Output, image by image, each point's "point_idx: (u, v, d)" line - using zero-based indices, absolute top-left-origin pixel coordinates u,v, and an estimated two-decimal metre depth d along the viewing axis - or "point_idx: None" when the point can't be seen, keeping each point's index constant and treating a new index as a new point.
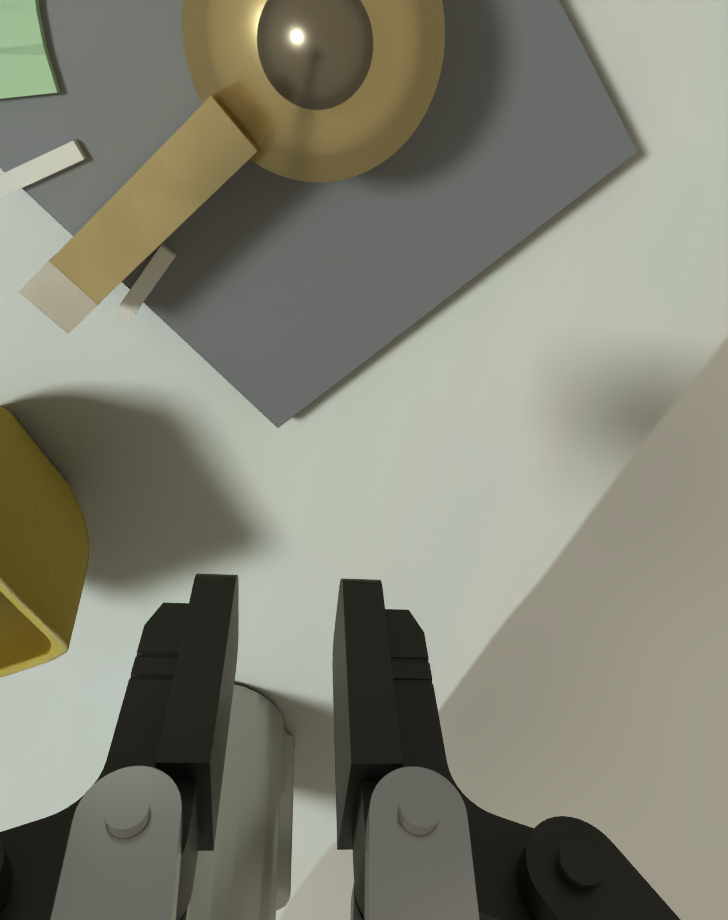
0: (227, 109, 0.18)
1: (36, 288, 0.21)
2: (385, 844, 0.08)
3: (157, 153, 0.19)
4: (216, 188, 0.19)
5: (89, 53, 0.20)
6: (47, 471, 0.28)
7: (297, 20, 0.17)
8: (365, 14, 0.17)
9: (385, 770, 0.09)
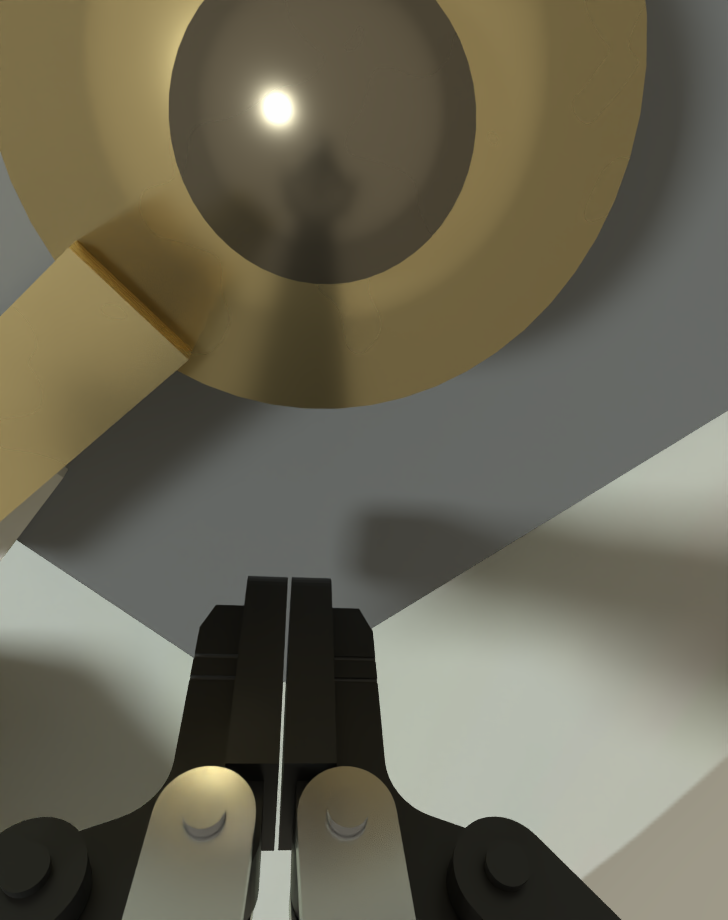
0: (116, 270, 0.08)
1: None
2: (310, 845, 0.08)
3: None
4: (101, 431, 0.09)
5: None
6: None
7: (276, 73, 0.06)
8: (460, 57, 0.06)
9: (319, 770, 0.09)
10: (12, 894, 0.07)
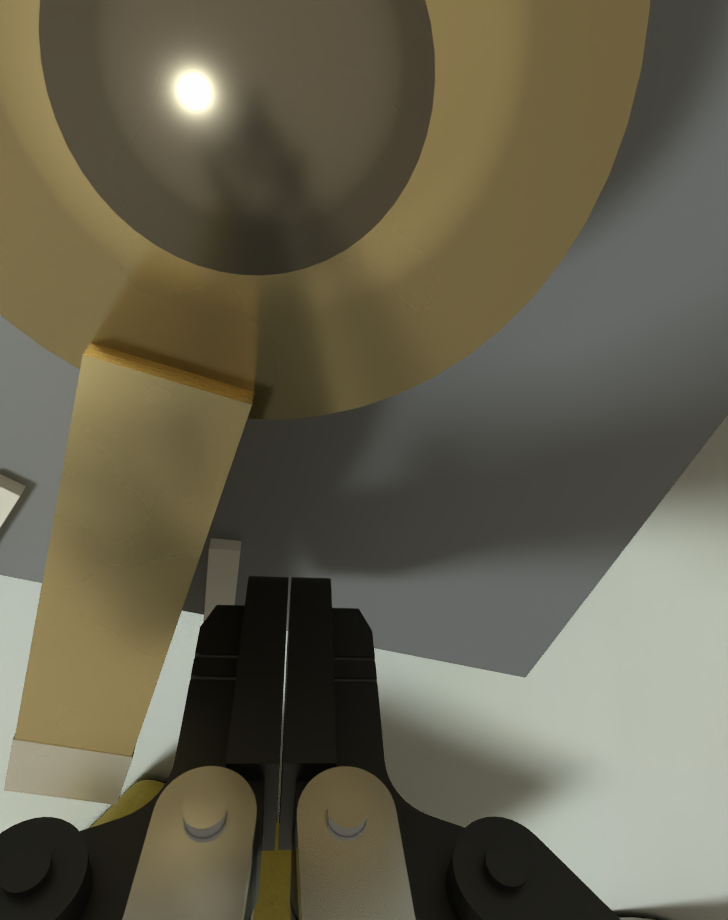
0: (141, 352, 0.07)
1: (24, 777, 0.11)
2: (310, 844, 0.08)
3: (58, 514, 0.08)
4: (211, 512, 0.08)
5: None
6: None
7: (154, 50, 0.05)
8: None
9: (319, 770, 0.09)
10: (13, 893, 0.07)
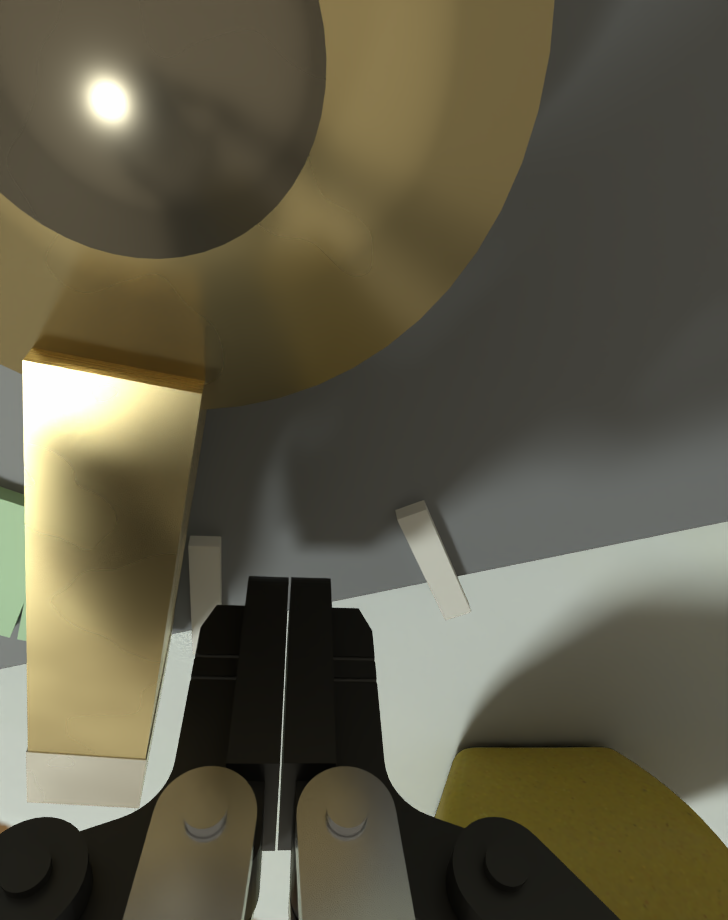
0: (84, 352, 0.07)
1: (44, 788, 0.11)
2: (309, 845, 0.08)
3: (28, 524, 0.08)
4: (180, 507, 0.08)
5: None
6: (575, 786, 0.19)
7: (27, 32, 0.05)
8: None
9: (318, 770, 0.09)
10: (13, 894, 0.07)
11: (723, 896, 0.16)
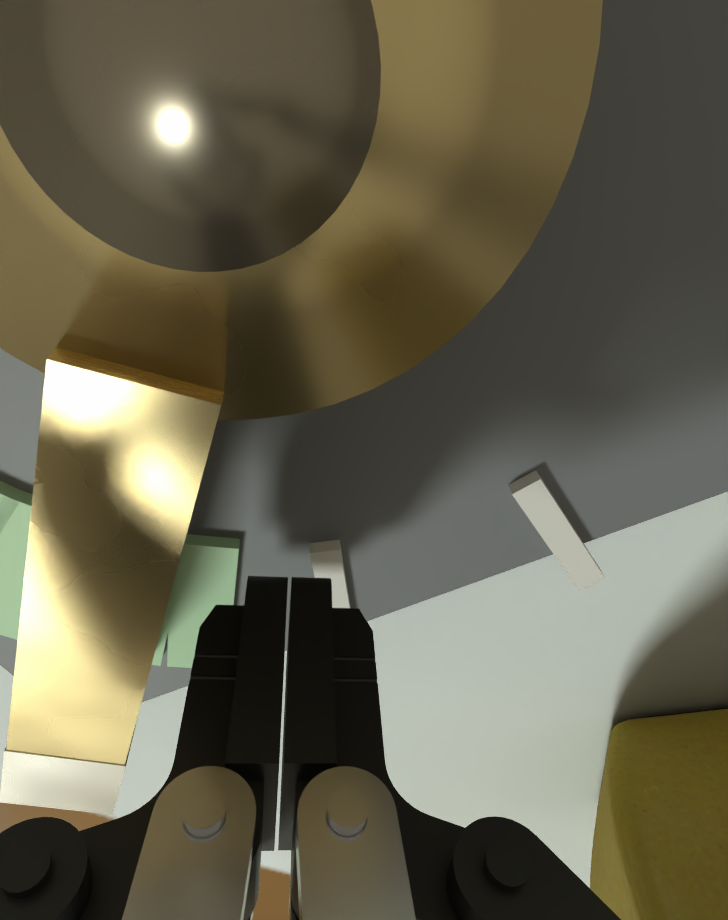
0: (107, 355, 0.07)
1: (19, 788, 0.11)
2: (310, 845, 0.08)
3: (33, 522, 0.08)
4: (188, 515, 0.08)
5: None
6: None
7: (92, 44, 0.05)
8: None
9: (319, 770, 0.09)
10: (12, 894, 0.07)
11: None
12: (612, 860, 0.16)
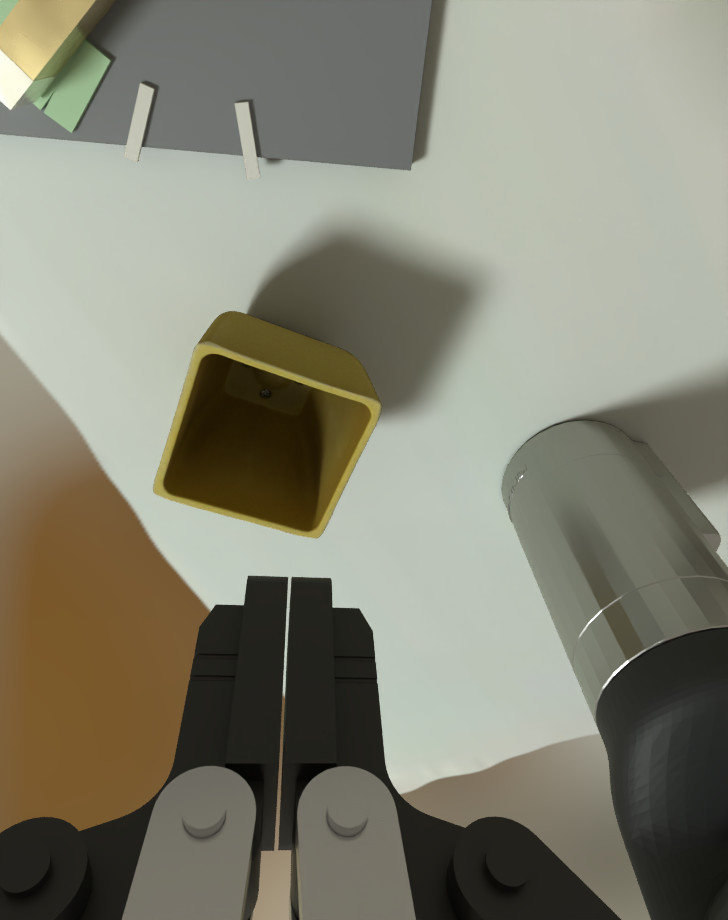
0: None
1: None
2: (310, 844, 0.08)
3: None
4: None
5: (105, 17, 0.28)
6: None
7: None
8: None
9: (319, 770, 0.09)
10: (13, 894, 0.07)
11: (347, 362, 0.33)
12: None
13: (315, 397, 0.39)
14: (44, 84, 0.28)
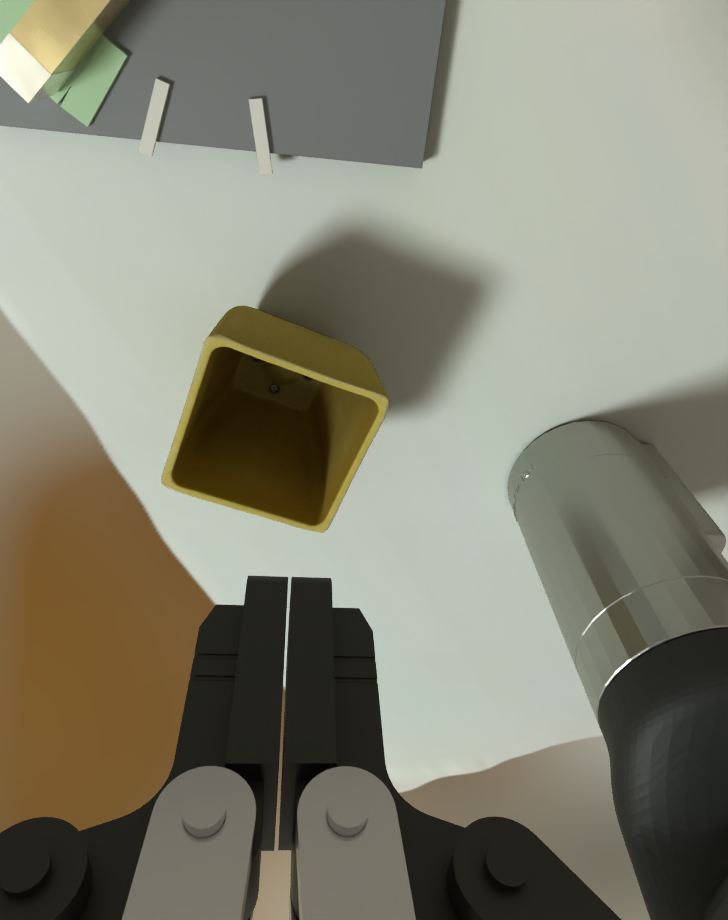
0: None
1: (0, 59, 0.26)
2: (310, 845, 0.08)
3: None
4: None
5: (123, 13, 0.28)
6: (307, 329, 0.36)
7: None
8: None
9: (319, 770, 0.09)
10: (12, 894, 0.07)
11: (356, 358, 0.33)
12: None
13: (323, 393, 0.39)
14: (61, 78, 0.28)
